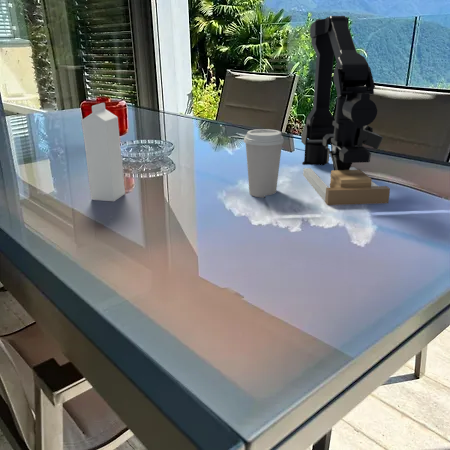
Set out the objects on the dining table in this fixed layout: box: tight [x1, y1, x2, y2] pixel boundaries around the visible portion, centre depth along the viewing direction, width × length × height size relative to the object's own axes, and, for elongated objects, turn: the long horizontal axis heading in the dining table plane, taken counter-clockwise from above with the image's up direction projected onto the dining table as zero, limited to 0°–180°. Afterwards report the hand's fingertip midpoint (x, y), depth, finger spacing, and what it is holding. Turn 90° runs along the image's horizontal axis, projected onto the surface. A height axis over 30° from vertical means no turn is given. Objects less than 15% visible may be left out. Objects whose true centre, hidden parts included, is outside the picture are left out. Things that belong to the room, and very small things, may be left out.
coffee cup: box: [243, 128, 285, 199], centre depth 110 cm, size 10×10×15 cm
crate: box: [329, 169, 373, 188], centre depth 108 cm, size 8×7×5 cm
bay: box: [302, 166, 391, 206], centre depth 114 cm, size 24×14×4 cm, turn 4°
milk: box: [81, 102, 126, 202], centre depth 107 cm, size 6×6×22 cm
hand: (341, 181), depth 114 cm, fingers closed
